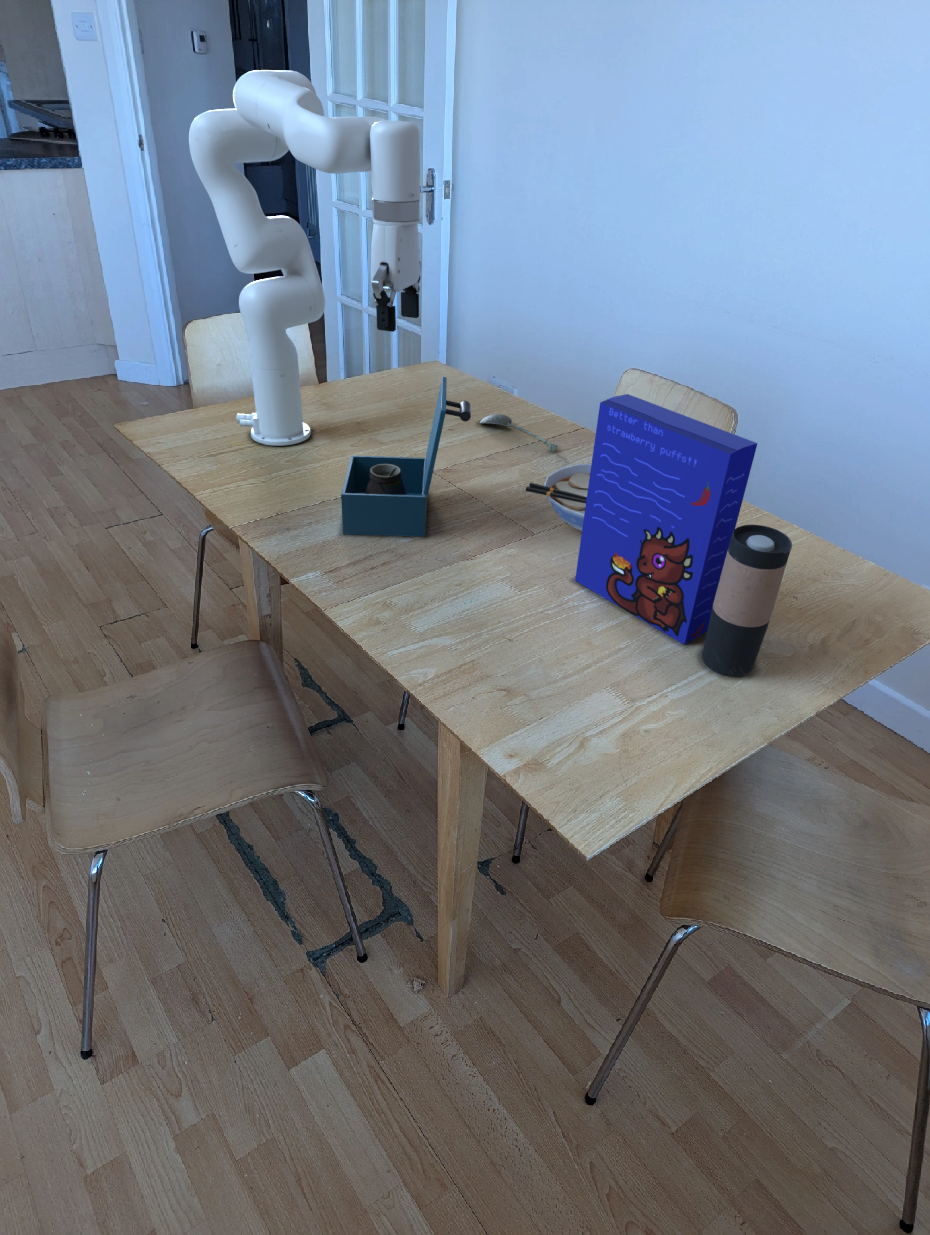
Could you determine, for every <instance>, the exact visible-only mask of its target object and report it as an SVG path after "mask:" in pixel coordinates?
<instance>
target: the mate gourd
mask: <svg viewBox="0 0 930 1235" xmlns="http://www.w3.org/2000/svg"><path fill="white" fill-rule="evenodd" d="M366 494H387V495H406V491H405V488H404V485H403V482H402V479H401V469H400V468H399V467H398V466H395V465H392V464H378V465H375V466H373V467H372V468H371V469H370V481H369V483H368V485H367V488H366Z"/></svg>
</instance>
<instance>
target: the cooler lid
mask: <svg viewBox="0 0 930 1235" xmlns="http://www.w3.org/2000/svg"><path fill="white" fill-rule="evenodd" d="M447 380H448V378H447V377H446V376H442V377H441V381H440V385H439V390H438V394H437V395H438V396H437V398H436V399H437V400H436V404H435V409H434V415H433V419H432V424H431V429H430V434H429V439H428V444H427V448H426V454H425V458H426V463H425V478H424V493H423V494H425V495H427V496H429V493H430V488H431V483H432V479H433V473H434V470H435V466H436V461H437V456H438V451H439V445H440V442H441V436H442V432H443V427H444V423H445V419H446V415H448V416H454V417H458V418H460V420H461V421H462V422H468V421H470V420H471V417H472V414H471V413H472V412H471V403H470V402H469V401H468V400H463V401H461V402H457V401H453V400H447V383H448V382H447ZM447 407H452V408H457V409H459V410H454V409H449V408H447Z"/></svg>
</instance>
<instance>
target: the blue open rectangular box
mask: <svg viewBox="0 0 930 1235" xmlns="http://www.w3.org/2000/svg"><path fill="white" fill-rule="evenodd" d="M425 463H426V457H417V456H416V457H415V456H414V457H412V456H385V455H383V456H382V455H355V454H351V455H350V458H349V462H348V466H347V470H346V474H345V477H344V481H343V485H342V489H341V494H340V501H341V502H340V503H341V521H342V522H341V523H342V524H341V525H342V534H343V535H359V536H361V535H362V536H390V537H391V536H392V537H421V538H423V537H424V538H425V537H426V525H427V506H428V495H425V494H423V493H424V478H425ZM378 464H392V465H395V466H398V467H399V468H400V469H401V479H402V482H403V485H404V488H405V491H406V495H387V494H366V488H367V485H368V483H369V481H370V469H371V468H372V467H373V466H375V465H378Z"/></svg>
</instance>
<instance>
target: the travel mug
mask: <svg viewBox="0 0 930 1235" xmlns="http://www.w3.org/2000/svg"><path fill="white" fill-rule="evenodd" d="M792 547H793V541H792V540H791V538H790V537H789V536H788V535H787V534H785V533H784V532H782V531H780V530H778V529H776V528H773V527H770V526H767V525H761V524H744V525H740V526H738V527H737V526H736V528H735V530H734V531H733V533H732V536H731V540H730V544H729V547H728V551H727V555H726V558H725V562H724V566H723V570H722V573H721V577H720V581H719V584H718V588H717V592H716V596H715V599H714V603H713V607H712V612H711V616H710V621H709V626H708V630H707V632H706V636H705V640H704V645H703V650H702V655H701V656H702V657H701V658H702V661H703V663H704V664H705V666H706V667H707V668H709V669H710V670H711V671H713V672H715V673H716V674H718V675H722V676H726V677H734V678H736V677H743V676H747V675H748V674H750V673H751V672H752V671H753V668H754V666H755V663H756V662H757V658H758V656H759V652H760V651H761V647H762V644H763V642H764V638H765V635H766V633H767V629H768V628H769V624H770V621H771V618H772V615H773V611H774V608H775V605H776V601H777V599H778V598H777V597H778V594H779V591H780V588H781V584H782V581H783V578H784V574H785V570H786V567H787V564H788V560H789V558H790V554H791V551H792V549H793V548H792Z"/></svg>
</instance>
